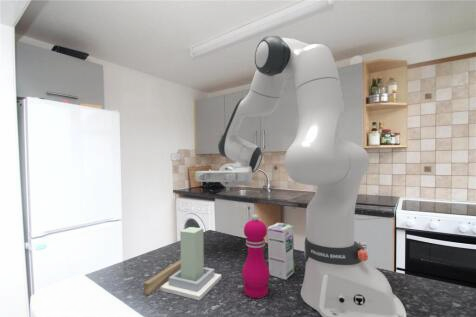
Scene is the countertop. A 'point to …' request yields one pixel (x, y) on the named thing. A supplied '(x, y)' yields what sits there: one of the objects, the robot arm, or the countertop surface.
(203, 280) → the grey keeper socket
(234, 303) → the countertop surface
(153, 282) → the oak board
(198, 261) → the sage bar
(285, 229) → the syrup box
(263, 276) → the pepper mill
